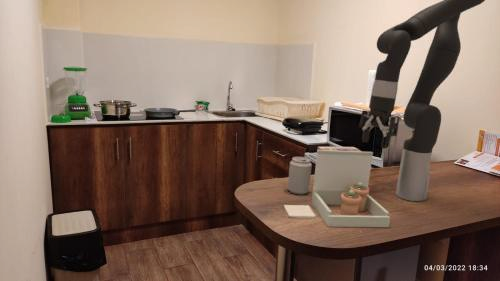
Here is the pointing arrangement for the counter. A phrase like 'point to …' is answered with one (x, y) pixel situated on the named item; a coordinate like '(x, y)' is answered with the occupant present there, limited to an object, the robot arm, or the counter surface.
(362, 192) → the clay pot
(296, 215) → the tile
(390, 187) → the counter surface
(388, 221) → the cold frame
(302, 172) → the can
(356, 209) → the clay pot
